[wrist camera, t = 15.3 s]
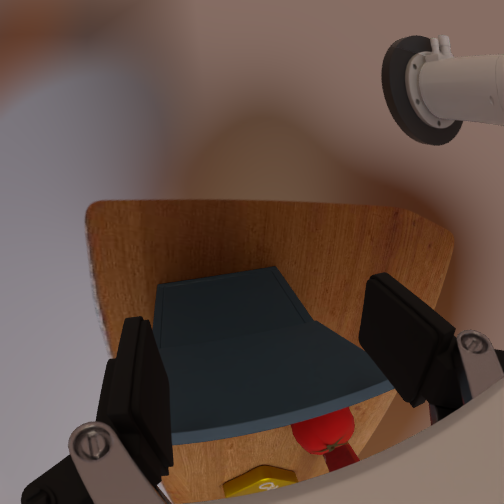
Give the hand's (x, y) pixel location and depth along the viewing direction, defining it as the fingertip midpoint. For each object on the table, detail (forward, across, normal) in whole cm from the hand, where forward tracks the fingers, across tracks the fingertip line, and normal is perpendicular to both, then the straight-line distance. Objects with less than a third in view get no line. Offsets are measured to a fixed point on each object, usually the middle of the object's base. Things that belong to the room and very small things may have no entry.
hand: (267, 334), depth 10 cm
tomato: (+25, -14, +41) cm, 50 cm away
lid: (+6, 0, +8) cm, 10 cm away
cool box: (+25, 0, +16) cm, 30 cm away
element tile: (+25, -2, +72) cm, 76 cm away
